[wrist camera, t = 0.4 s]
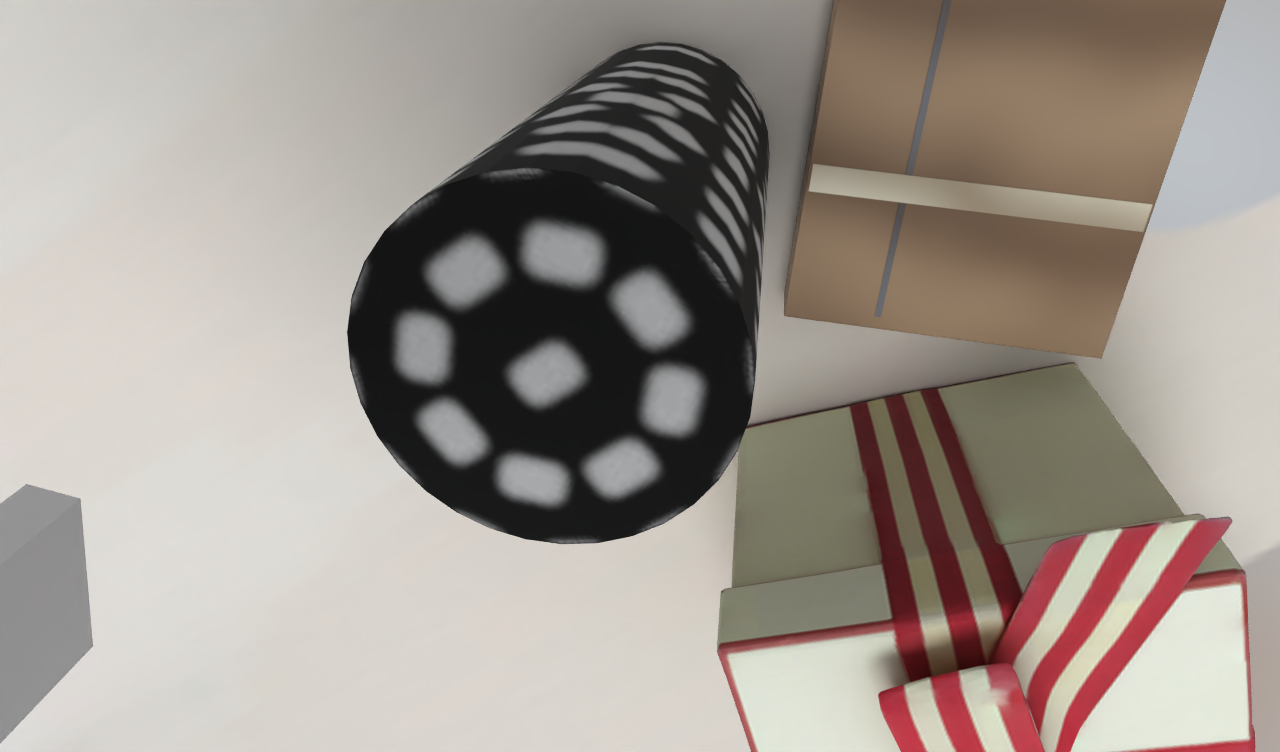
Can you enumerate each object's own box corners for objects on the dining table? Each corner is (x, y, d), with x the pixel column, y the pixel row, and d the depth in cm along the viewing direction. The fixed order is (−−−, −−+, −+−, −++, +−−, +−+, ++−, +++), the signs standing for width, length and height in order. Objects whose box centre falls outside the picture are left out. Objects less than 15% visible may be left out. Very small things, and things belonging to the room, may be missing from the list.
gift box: (1207, 610, 42) (1449, 1005, 27) (814, 684, 47) (828, 1050, 32) (1144, 277, 36) (1414, 542, 20) (700, 404, 41) (650, 691, 26)
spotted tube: (690, -6, 34) (585, 73, 16) (810, 182, 36) (836, 435, 18) (518, 125, 37) (266, 315, 19) (639, 290, 39) (517, 598, 21)
